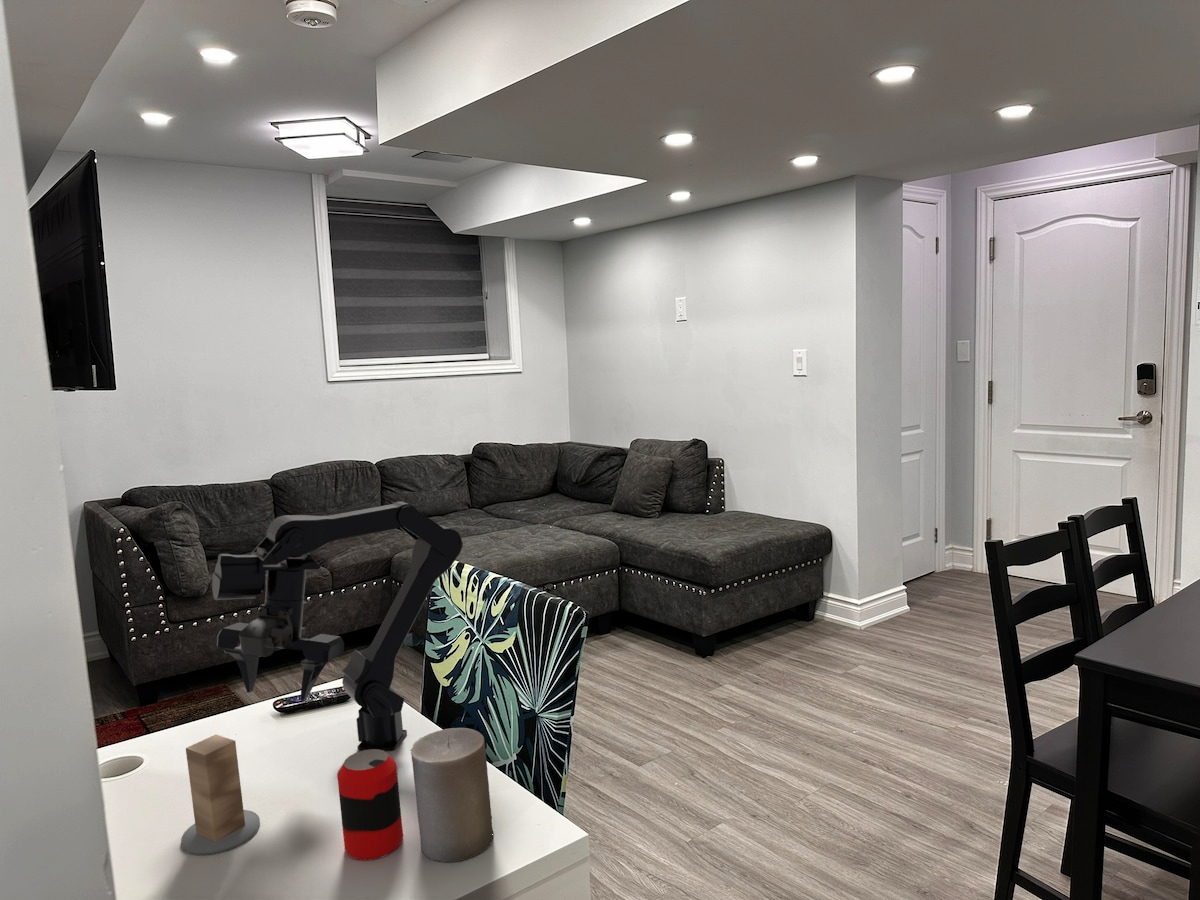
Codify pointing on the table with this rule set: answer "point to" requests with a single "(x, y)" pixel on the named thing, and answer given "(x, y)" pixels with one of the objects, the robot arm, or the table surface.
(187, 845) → the charcoal coaster
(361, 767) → the soda can
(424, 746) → the pillar candle
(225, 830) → the walnut block
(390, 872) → the table surface
